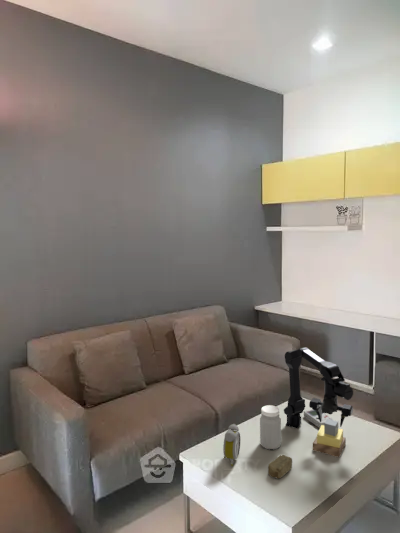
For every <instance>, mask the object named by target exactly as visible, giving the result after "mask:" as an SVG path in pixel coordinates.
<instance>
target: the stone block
mask: <svg viewBox="0 0 400 533" xmlns="http://www.w3.org/2000/svg"><path fill="white" fill-rule="evenodd" d="M292 468H293V459H292V457H290V456H288V455H286V454H285V455H284V454H280V455H279V456H277V457H276V458H275V459H274V460H273V461H271V462H269V463H268V465H267V469H268V470H267V474H268V475H269V476H270V477H271V478H276V479H277V480H278V479H281V478H283V477H284V476H285V475H286V474H287V473H288V472H290V471H291V469H292Z"/></svg>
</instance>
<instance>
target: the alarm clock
mask: <svg viewBox="0 0 400 533" xmlns="http://www.w3.org/2000/svg"><path fill="white" fill-rule="evenodd" d="M222 446H223V448H222V450H223V457H224V458H225V459H230V466H231V467H233V466H234V461H235V460H237V459H238V458H239V455H240V450H241V432H240V429H239V426H237V425H236V423H233V424H230V425H229V426H228V429H227V431H226V432H225V434H224V439H223V445H222ZM224 458H223V459H224Z"/></svg>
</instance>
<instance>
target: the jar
mask: <svg viewBox="0 0 400 533" xmlns="http://www.w3.org/2000/svg"><path fill="white" fill-rule="evenodd" d="M260 409H261V410H260V412H261V416H260V418H259V439H260V440H259V442H260V445H261V446H262V447H263V448H264V447H265V448H264V449H267V450H270V449H273V450H277V449H278V448H280V446H281V444H282V418H281V417H280V408H279V407H278V406H275V405H272V404H268V405H264V406H262V407H261V408H260Z"/></svg>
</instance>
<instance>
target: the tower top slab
mask: <svg viewBox="0 0 400 533" xmlns="http://www.w3.org/2000/svg"><path fill="white" fill-rule="evenodd" d="M316 437H317V443H320V444H324V445H328V446H333V447H337V448H340V445H341V442H342V439H343V437H344V429H342V428H338V433H337V434H336V436H332V435H328V434H324V425H321V427H320V428H319V430H318V432H317V434H316Z"/></svg>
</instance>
